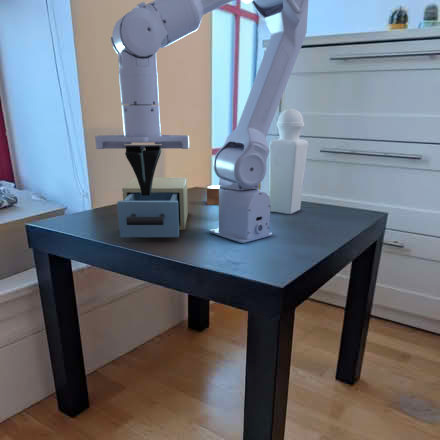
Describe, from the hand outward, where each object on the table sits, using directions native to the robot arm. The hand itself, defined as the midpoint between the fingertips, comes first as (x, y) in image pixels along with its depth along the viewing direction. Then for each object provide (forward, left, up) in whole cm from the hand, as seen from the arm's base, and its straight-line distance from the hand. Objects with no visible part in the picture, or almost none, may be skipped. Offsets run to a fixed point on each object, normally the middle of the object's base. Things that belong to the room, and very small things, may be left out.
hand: (146, 194), depth 70 cm
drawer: (+4, -3, -8) cm, 10 cm away
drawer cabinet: (+13, -10, -9) cm, 19 cm away
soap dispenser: (+2, -39, -9) cm, 40 cm away
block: (+19, -32, -9) cm, 38 cm away
